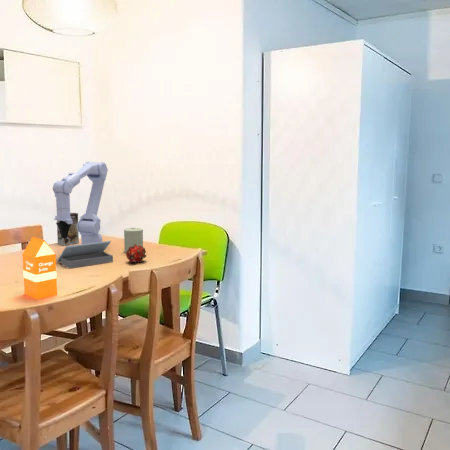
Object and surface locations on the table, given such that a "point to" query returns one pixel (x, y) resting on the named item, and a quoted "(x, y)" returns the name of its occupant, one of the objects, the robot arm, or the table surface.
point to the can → (132, 237)
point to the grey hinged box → (86, 260)
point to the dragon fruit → (136, 253)
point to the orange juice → (39, 269)
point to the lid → (84, 249)
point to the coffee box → (70, 232)
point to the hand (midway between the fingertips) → (64, 237)
